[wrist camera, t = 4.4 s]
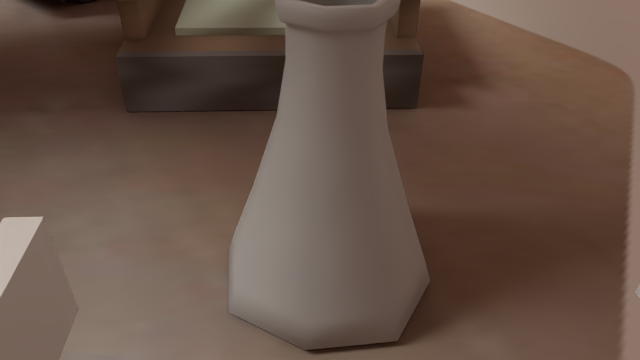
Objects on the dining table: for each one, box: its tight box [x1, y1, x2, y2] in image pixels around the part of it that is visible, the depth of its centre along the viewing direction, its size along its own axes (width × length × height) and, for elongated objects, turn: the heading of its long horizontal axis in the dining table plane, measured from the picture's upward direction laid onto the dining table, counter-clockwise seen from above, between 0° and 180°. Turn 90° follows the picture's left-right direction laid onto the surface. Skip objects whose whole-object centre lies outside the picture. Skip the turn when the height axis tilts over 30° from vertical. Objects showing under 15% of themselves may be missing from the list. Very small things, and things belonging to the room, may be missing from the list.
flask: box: [228, 0, 430, 350], centre depth 16 cm, size 7×7×10 cm
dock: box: [115, 0, 424, 112], centre depth 33 cm, size 15×15×6 cm
